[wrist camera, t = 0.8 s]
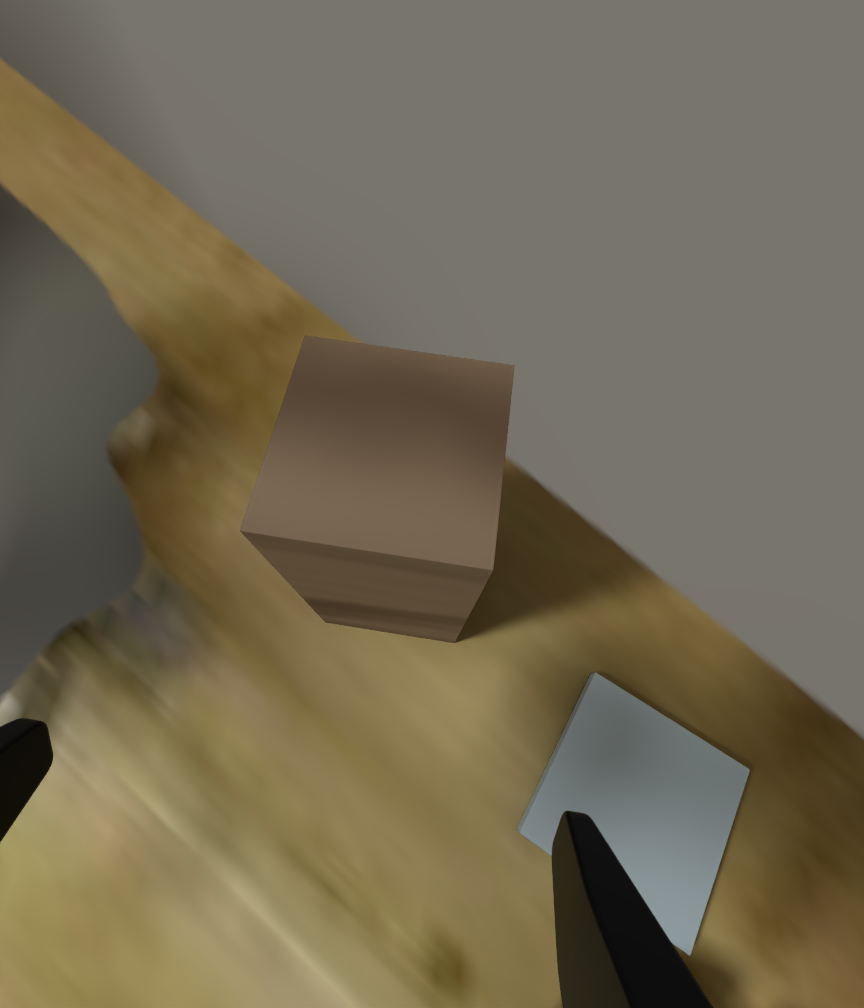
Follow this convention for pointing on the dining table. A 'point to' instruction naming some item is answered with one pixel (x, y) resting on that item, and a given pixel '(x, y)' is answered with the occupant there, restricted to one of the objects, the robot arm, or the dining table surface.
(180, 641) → the dining table surface
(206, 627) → the dining table surface
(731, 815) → the slate-blue tile
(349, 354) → the walnut block
